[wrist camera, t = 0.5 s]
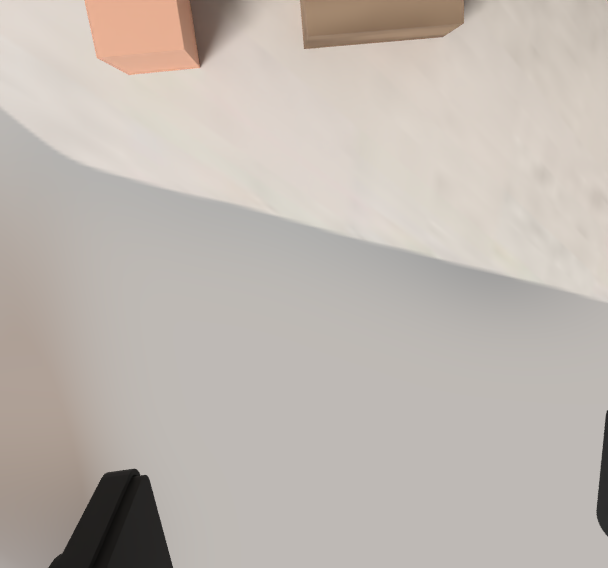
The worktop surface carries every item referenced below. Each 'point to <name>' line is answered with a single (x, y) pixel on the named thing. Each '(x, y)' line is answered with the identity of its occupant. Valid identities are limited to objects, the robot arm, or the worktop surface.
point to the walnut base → (377, 20)
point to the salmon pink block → (143, 34)
